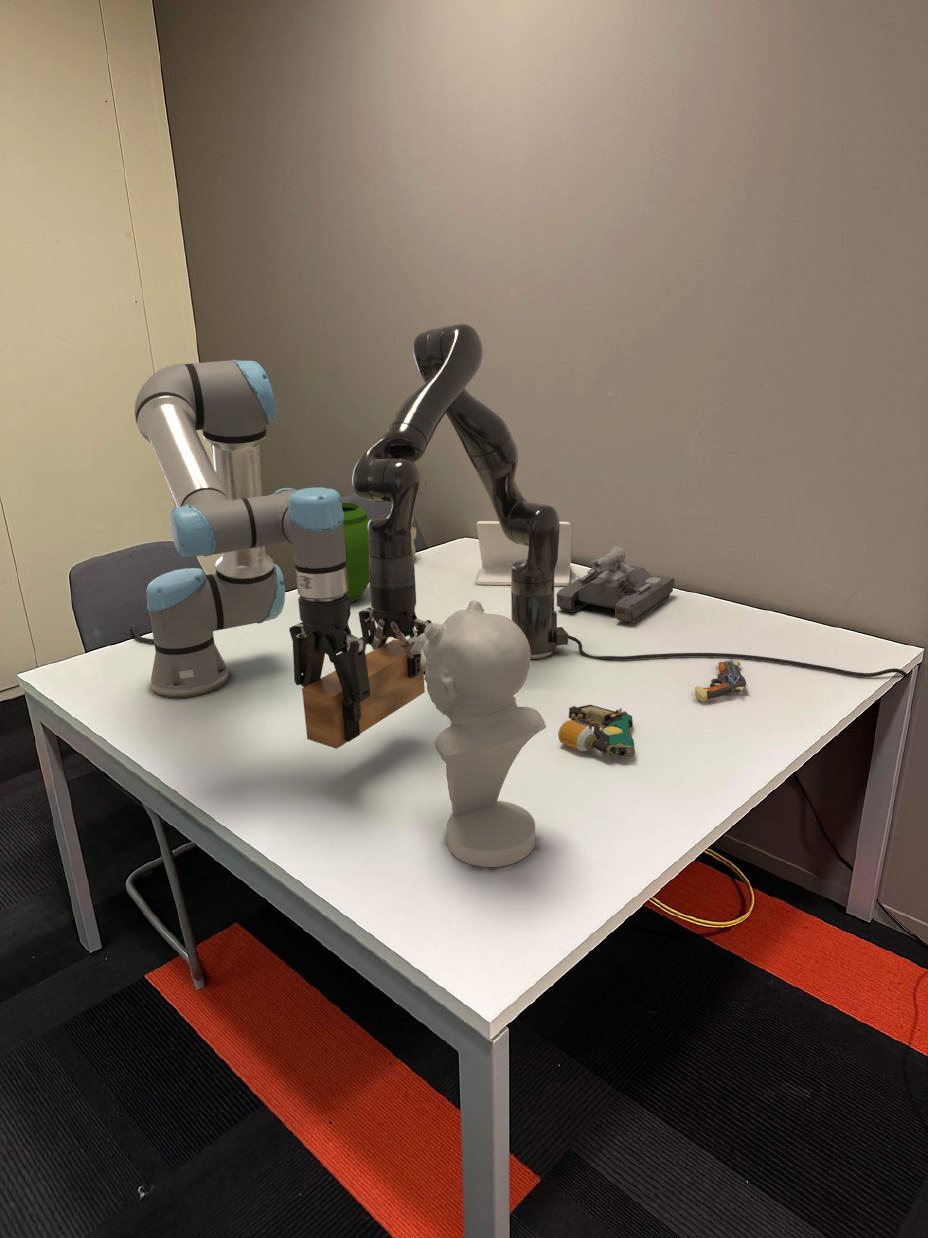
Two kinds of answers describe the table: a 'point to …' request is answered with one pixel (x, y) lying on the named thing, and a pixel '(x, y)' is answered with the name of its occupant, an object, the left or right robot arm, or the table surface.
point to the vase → (356, 549)
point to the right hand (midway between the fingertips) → (397, 672)
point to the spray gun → (599, 731)
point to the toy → (616, 588)
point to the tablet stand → (515, 554)
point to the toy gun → (723, 682)
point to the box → (386, 698)
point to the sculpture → (413, 538)
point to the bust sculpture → (481, 729)
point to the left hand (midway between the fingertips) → (335, 732)
